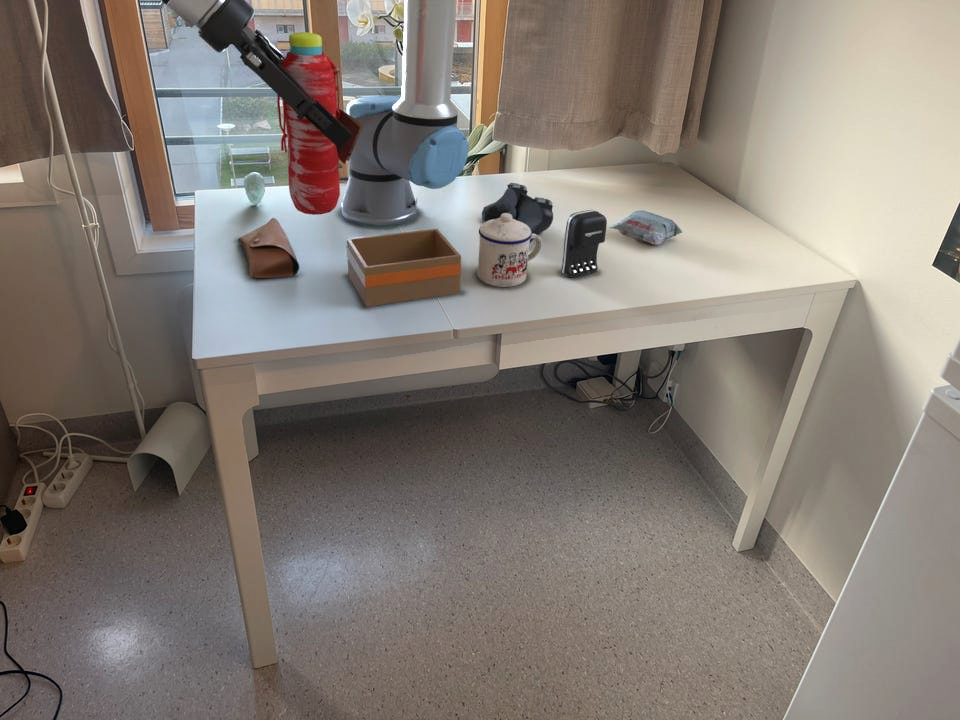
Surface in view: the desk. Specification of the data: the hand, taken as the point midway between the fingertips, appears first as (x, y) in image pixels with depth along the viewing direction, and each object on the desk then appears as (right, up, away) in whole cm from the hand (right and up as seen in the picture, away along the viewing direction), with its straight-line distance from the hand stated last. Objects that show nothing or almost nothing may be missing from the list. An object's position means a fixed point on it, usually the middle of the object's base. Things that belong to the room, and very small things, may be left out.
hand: (343, 132), depth 110 cm
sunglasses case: (-18, -15, +25) cm, 34 cm away
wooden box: (+7, -21, +18) cm, 28 cm away
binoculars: (+28, -8, +41) cm, 50 cm away
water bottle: (-4, -10, +6) cm, 12 cm away
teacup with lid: (+25, -19, +23) cm, 39 cm away
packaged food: (+53, -9, +40) cm, 67 cm away
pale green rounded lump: (-26, -1, +45) cm, 52 cm away
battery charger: (+38, -18, +26) cm, 49 cm away
